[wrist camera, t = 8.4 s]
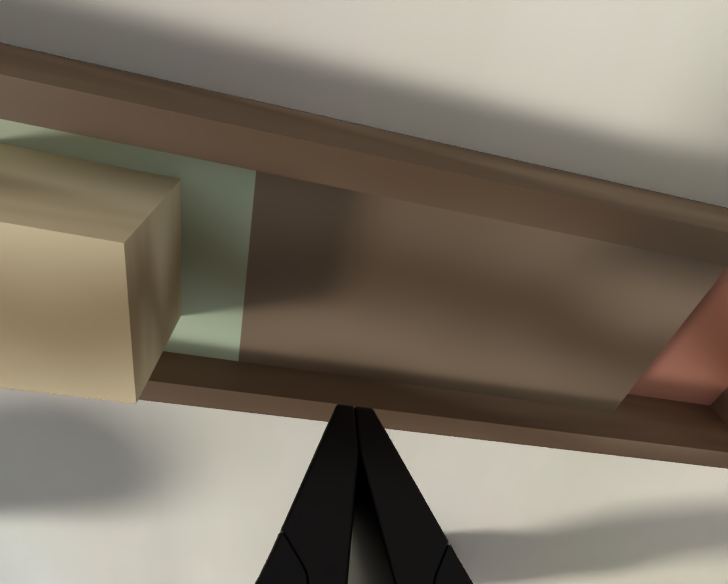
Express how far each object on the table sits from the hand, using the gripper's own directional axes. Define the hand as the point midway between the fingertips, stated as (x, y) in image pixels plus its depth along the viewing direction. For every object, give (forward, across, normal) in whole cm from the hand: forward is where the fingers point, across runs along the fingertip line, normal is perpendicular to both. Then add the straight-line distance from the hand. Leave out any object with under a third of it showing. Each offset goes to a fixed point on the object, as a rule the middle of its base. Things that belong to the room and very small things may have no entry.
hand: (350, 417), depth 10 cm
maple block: (+6, +8, 0) cm, 10 cm away
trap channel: (+7, -1, 0) cm, 7 cm away
